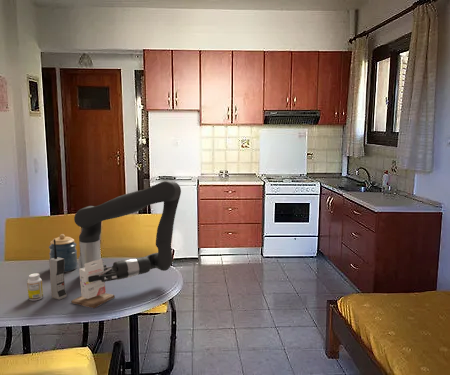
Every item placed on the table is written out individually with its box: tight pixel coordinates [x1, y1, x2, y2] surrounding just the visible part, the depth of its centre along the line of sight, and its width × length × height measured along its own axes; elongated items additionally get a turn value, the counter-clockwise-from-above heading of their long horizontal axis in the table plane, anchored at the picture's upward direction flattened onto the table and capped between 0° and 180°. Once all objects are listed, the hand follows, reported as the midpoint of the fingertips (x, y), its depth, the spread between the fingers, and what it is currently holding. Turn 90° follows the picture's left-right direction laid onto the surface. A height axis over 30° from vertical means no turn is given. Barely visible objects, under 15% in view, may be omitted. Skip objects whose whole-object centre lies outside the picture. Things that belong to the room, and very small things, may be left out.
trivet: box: [71, 292, 116, 309], centre depth 177 cm, size 12×12×1 cm
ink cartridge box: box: [78, 258, 107, 299], centre depth 175 cm, size 9×5×15 cm, turn 138°
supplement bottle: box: [26, 272, 44, 302], centre depth 178 cm, size 6×6×10 cm
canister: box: [48, 233, 79, 273], centre depth 215 cm, size 13×13×18 cm
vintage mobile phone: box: [48, 238, 68, 301], centre depth 178 cm, size 4×5×25 cm
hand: (86, 277), depth 174 cm, fingers closed on ink cartridge box, 6 cm apart
